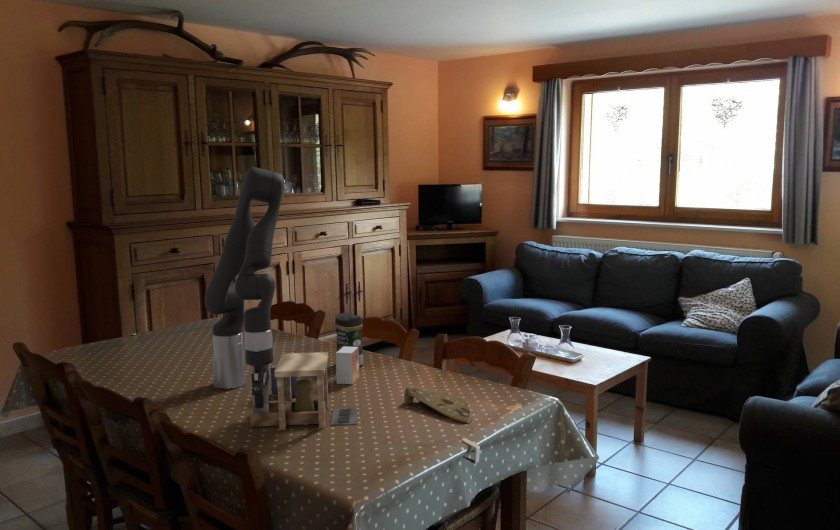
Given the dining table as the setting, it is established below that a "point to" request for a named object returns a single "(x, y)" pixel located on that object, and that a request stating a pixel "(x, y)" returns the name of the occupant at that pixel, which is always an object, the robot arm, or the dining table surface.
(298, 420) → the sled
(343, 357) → the small box
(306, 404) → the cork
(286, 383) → the wooden stool
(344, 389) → the dining table surface
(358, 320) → the coffee jar
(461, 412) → the decorative stone
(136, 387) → the dining table surface
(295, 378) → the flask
